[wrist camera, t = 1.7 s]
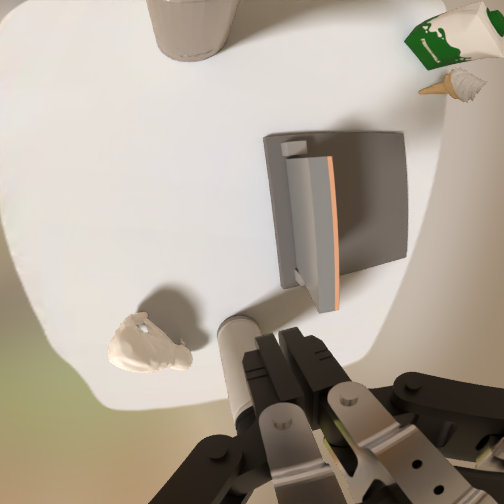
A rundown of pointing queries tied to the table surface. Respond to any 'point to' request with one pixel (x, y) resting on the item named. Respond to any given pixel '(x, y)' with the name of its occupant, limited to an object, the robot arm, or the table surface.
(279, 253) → the base
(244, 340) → the travel mug
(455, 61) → the milk carton
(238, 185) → the table surface
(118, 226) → the table surface
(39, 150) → the table surface
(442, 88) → the ice cream cone
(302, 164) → the tile
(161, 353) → the beige irregular lump
